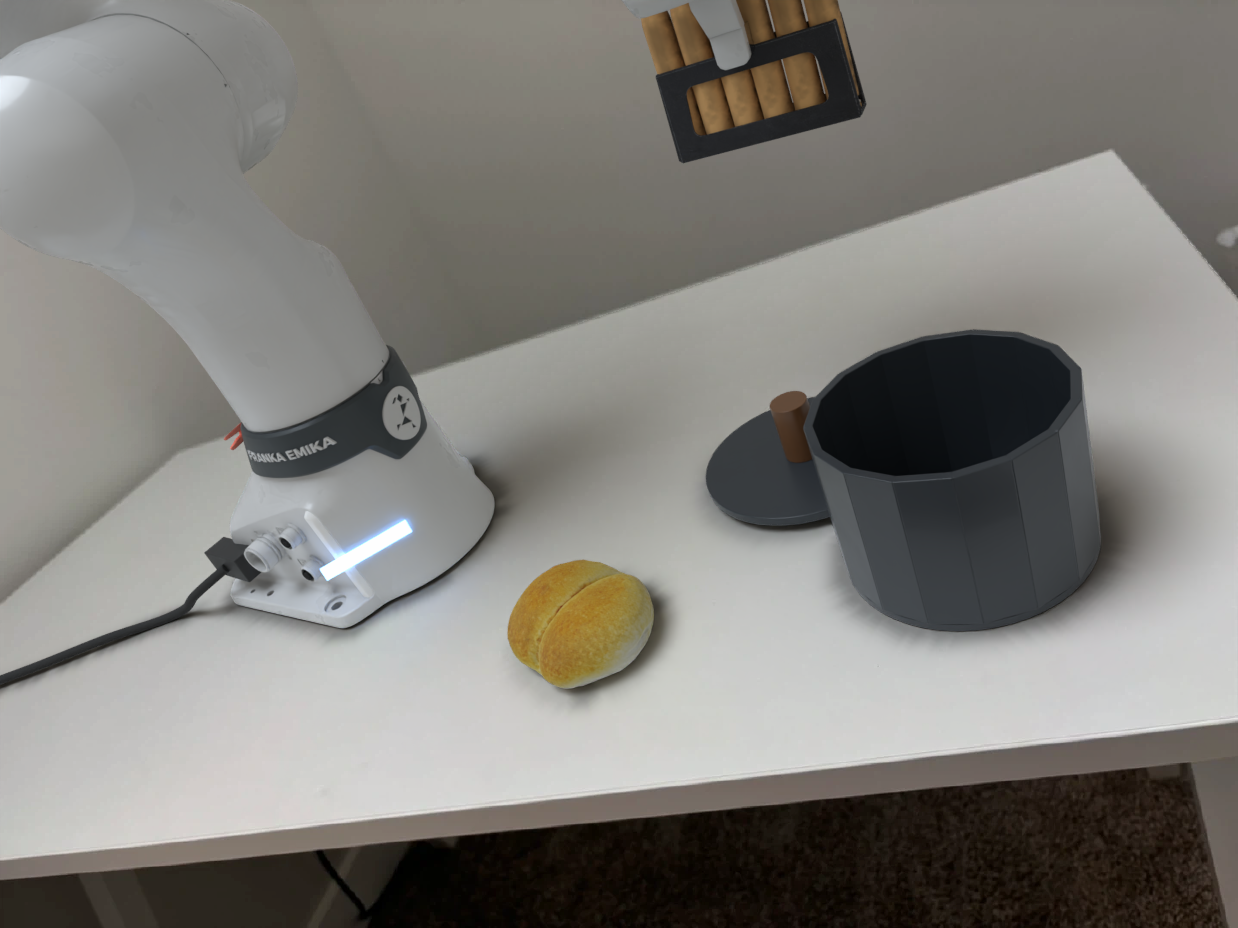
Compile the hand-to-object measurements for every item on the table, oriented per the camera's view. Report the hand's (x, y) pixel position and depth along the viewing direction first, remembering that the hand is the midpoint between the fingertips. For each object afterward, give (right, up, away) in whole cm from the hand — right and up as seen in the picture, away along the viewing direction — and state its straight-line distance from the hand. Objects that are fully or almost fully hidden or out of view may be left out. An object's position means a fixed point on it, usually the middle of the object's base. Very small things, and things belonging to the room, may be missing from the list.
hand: (745, 54), depth 51 cm
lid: (+5, -22, +11) cm, 25 cm away
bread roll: (-9, -33, +5) cm, 34 cm away
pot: (+12, -26, 0) cm, 29 cm away
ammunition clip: (+2, -4, +2) cm, 5 cm away
